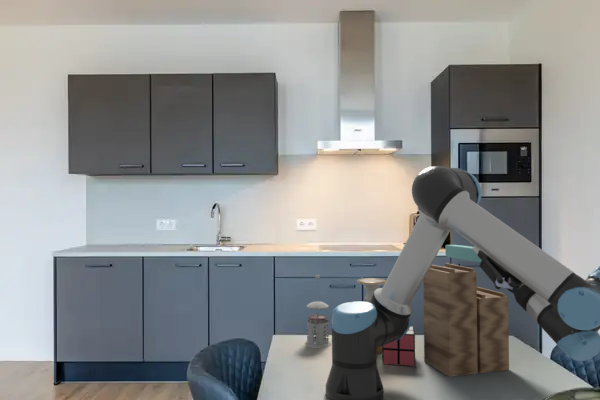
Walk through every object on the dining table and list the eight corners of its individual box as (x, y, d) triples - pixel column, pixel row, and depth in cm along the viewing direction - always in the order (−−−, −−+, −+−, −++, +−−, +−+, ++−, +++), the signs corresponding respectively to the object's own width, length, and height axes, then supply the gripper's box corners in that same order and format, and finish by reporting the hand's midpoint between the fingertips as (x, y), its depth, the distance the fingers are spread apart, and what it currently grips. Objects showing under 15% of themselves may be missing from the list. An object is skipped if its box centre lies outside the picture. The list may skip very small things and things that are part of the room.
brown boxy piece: (449, 376, 134) (448, 269, 134) (424, 361, 147) (423, 264, 148) (509, 369, 139) (507, 267, 140) (479, 355, 153) (478, 262, 153)
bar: (509, 264, 120) (508, 251, 120) (497, 265, 119) (497, 251, 119) (455, 256, 142) (455, 244, 142) (445, 256, 141) (445, 245, 141)
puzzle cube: (415, 367, 142) (415, 334, 143) (382, 364, 144) (382, 332, 145) (413, 356, 152) (413, 326, 152) (383, 354, 154) (382, 324, 154)
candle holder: (350, 346, 164) (350, 279, 164) (376, 342, 168) (375, 277, 169) (367, 355, 154) (367, 283, 154) (394, 350, 158) (393, 281, 159)
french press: (334, 341, 170) (333, 273, 171) (326, 350, 159) (326, 277, 160) (308, 339, 173) (308, 272, 174) (299, 347, 162) (299, 276, 163)
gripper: (503, 316, 107) (451, 257, 127) (561, 311, 112) (502, 255, 131) (514, 290, 104) (459, 234, 123) (574, 287, 108) (511, 233, 128)
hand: (482, 245), depth 127 cm, fingers closed on bar, 3 cm apart
